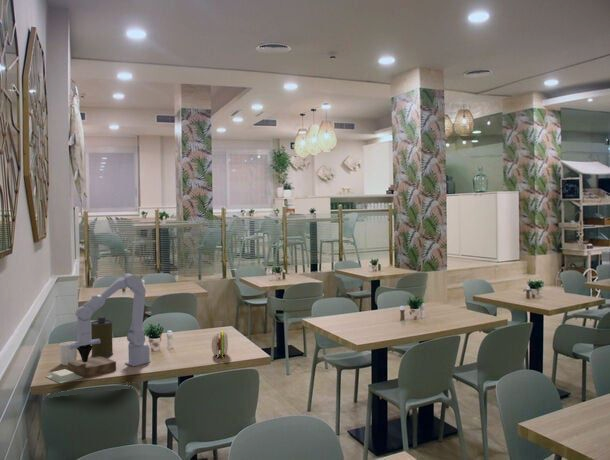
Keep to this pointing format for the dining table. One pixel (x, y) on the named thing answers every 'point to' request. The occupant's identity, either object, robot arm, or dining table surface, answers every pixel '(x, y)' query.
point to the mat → (64, 380)
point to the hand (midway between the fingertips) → (84, 361)
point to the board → (92, 366)
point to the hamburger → (219, 344)
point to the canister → (102, 337)
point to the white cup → (67, 353)
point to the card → (63, 374)
